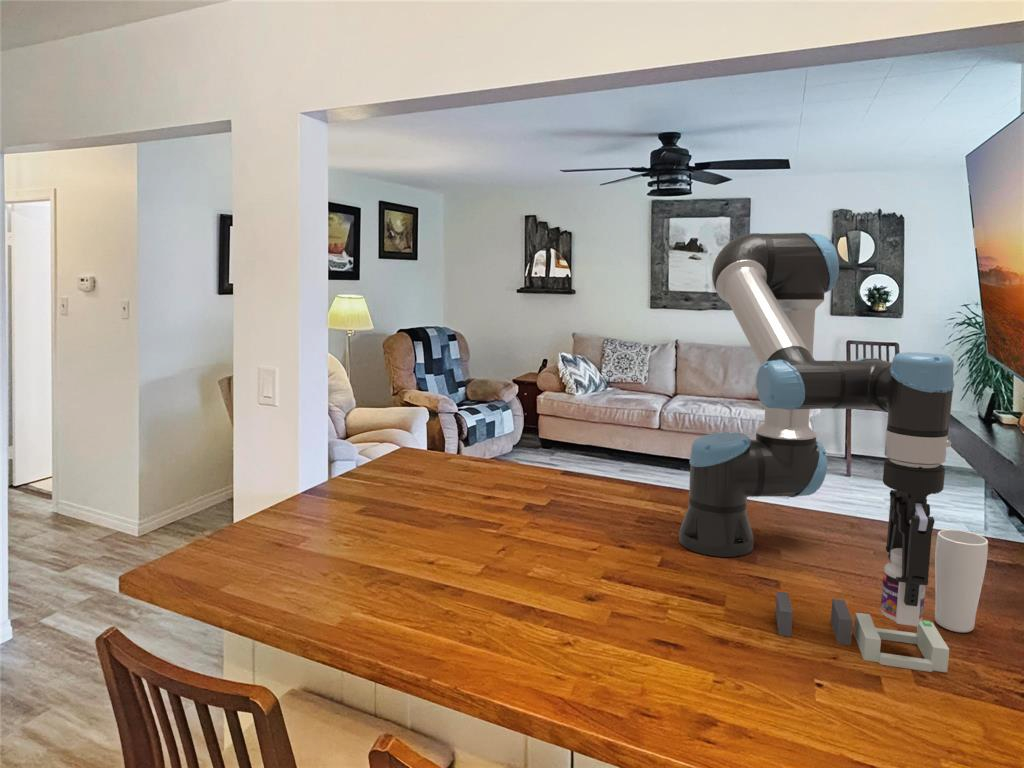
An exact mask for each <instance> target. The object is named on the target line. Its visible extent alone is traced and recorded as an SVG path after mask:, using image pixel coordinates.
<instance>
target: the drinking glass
mask: <svg viewBox="0 0 1024 768" xmlns="http://www.w3.org/2000/svg"><path fill="white" fill-rule="evenodd" d="M988 550H989V540H988V539H987V538H986V537H984V536H982V535H980V534H977V533H975V532H972V531H971V532H970V531H965V530H961V529H942V530H939V531H937V537H936V543H935V553H934V555H935V556H934V574H935V575H934V578H935V579H934V581H935V582H934V583H935V587H934V589H935V592H934V593H935V594H934V596H935V598H934V601H935V604H934V605H935V610H934V621H935V623H936V624H938V626H940V627H942V628H944V629H946V630H948V631H950V632H955V633H963V634H964V633H970V632H971V631H973V630H974V628H975V622H976V616H977V611H978V607H979V600H980V596H981V592H982V588H983V583H984V578H985V573H986V570H987V569H986V568H987V562H988Z"/></svg>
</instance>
